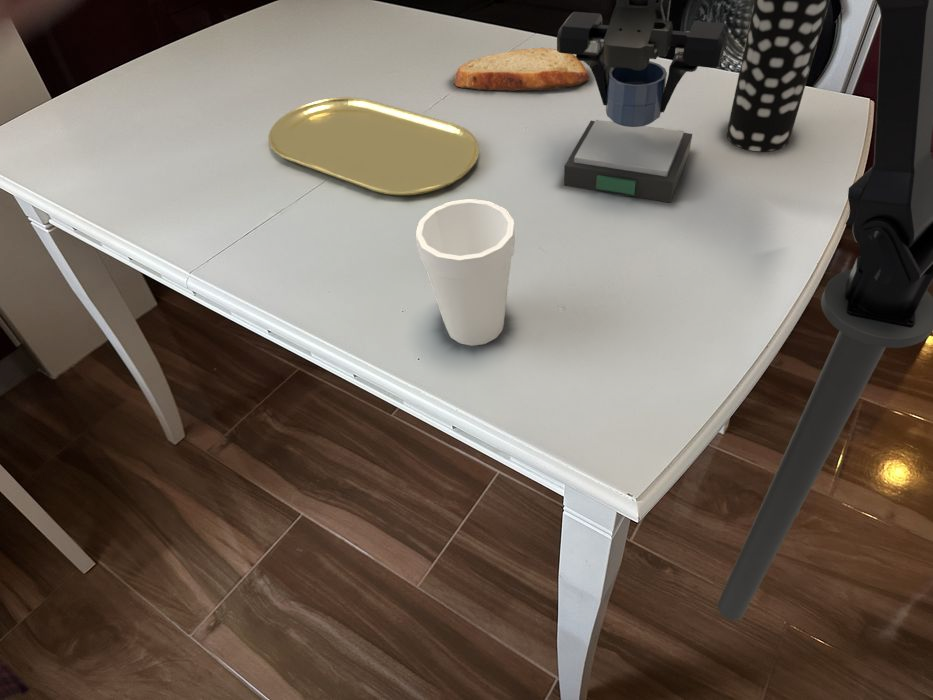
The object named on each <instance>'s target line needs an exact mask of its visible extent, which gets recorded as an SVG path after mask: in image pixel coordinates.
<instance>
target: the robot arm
mask: <svg viewBox="0 0 933 700" xmlns="http://www.w3.org/2000/svg"><path fill="white" fill-rule="evenodd" d="M875 1H876V4H877V6H878V8H879V12H880V20H879V21H880V22H879V41H878V42H879V43H878V64H877V82H876V83H877V84H876V85H877V87H876V104H875V125H874V126H875V127H874V146H873V148H874V149H873V162H872V163H873V164H872V166H871V167H870V168H869V169H868V170H867V171H866V172H865V173H863V174H862V176H860V177H859V178H858V179H856V180H855V182H853V183H852V184H851V185H850V186H849V187H848V190H847V199H848V200H847V201H848V207H849V213H848V218H847V219H846V221H845V226H852V227H851V231H852V236H853V238H854V241H855V243H857V244H859V256H858V257H856V259H855V261H854V264H853V265H852V268H851V270H852V271H851V273H850V276H849V278H848V280H847V283H846V289H845V298H846V299H847V300H848V304H847V314H848V315H851V316H855V317H860V318H865V319H870V320H875V321H880V322H885V323H889V324H894V325H899V326H904V327H910V328H911V327H913V326H914V324H915V311H916V309H917V307H918V306H919V304H920V302H921V300H922V298H923V296H924V295H925V293H926V291H928V289H929V288H930V286H931V284H932V282H933V158H932V153H931V146H932V135H933V0H875ZM615 3H616V4H615V6H614V9H613V12H612V14H611V17H610V21H609V24H608V25H607V24H603V16H602V14H601V13H596V12H586V11H585V12H584V11H583V12H582V11H573V12H572V13H570V15H569V16H568V17H567V18H566V19H565V21H564V22H563V24H562V25H561V26H560V27H559V29H558V31H557V36H556V49H557V51H558V52H559V53H565V54H573V55H575V56H576V58H577V60H579V61H581V62H583V63H585V64H586V65H587V66H588V67H589V68H590V71H591V72H592V74H593V77H594V79H595V82H596V86H597V89H598V91H599V95H600V99H601V102H602V104H603V106H606V99H607V83H608V72H609V70H610V69H611V68H616V67H623V68H631V69H633V70H643V69H645V68H646V67H647V66H648V64H649V61H651V60H657V58H658V57H662V58H666V57H667V56H668V54H669V51H670V50H674V56H673V58H672V61H671V63H670V65H669V67H668V73H667V78H666V85H665V90H664V94H663V98H662V102H661V112H662V113H664V112H665V111H666V108H667V106H668V104H669V103H670V100H671V97H672V96H673V94H674V91H675V90H676V88H677V86H678V84H679V83H680V81H681V79H682V78H683V77H684V76H685V74H686V73H692V72H696V71H697V69H698V67H700V68H709V69H712V68H718V67H719V66H720V63H721V60H722V57H723V55H724V53H725V50H726V47H727V42H728V38H729V32H730V31H729V30H730V29H729V28H728V26H727V24H726V23H725V22H714V21H713V22H712V21H703V20H702V21H701V20H694V21H693V23H692V25H691V27H690V29H689V30H687V31H683V30H674V28H673V22H672V21H671V20H670V19H669V18H670V10H671V9H670V8H671V3H672V0H616V2H615ZM852 311H853V312H852Z"/></svg>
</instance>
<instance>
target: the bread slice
mask: <svg viewBox="0 0 933 700" xmlns="http://www.w3.org/2000/svg"><path fill="white" fill-rule="evenodd" d="M453 79H454V80H453V83H454V85H455V86H456V87H458V88H460V89H461V88H462V89H465V88H466V89H467V88H468V89H471V90H473V89H474V90H478V91H481V90H482V91H483V90H485V91H511V92H513V91H524V92H525V91H536V92H537V91H541V90H549V91H552V90H554V89H561V88H562V89H563V88H571V87H576V86H579V85H582V84H583V83H586V82H589V81H590V75H589V74H588V71H587V69H586V67H585V65H584V64H583V62H582V61H579V60H577V58H576V55H575V54H565V53H559V52H558V51H557V48H547V47H539V48H538V47H537V48H536V47H535V48H521V49H520V48H519V49H513V50H510V51H507V52H500V53H494V54H490V55H484V56H481V57H478V58H476V59H472V60H470V61H468V62H465V63H464V64H462V65H460V66H459V67H458V68H457V71H456V73H455V75H454V78H453Z"/></svg>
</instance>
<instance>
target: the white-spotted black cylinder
mask: <svg viewBox="0 0 933 700" xmlns="http://www.w3.org/2000/svg"><path fill="white" fill-rule="evenodd" d="M830 1H831V0H754V1H753V6H752V11H751V16H750V21H749V24H748V25H749V26H748V30H747V35H746V38H745V39H746V40H745V44H744V49H743V54H742V58H741V63H740V66H739V67H740V68H739V73H738V77H737V81H736V87H735V91H734V96H733V101H732V106H731V110H730V115H729V120H728V125H727V128H726V129H727V130H726V138H727V139H728V140H729V142H730V143H732V144H733V145H735V146H736V147H738V148H741V149H744V150H747V151H753V152H773V151H776V150H779V149H782V148H784V147H785V146H787V145H788V143H789V142H790V141H791V138H792V133H793V131H794V126H795V123H796V119H797V116H798V112H799V110H800V106H801V102H802V99H803V95H804V92H805V88H806V86H807V81H808V78H809V74H810V71H811V67H812V64H813V62H814V61H813V60H814V57H815V53H816V50H817V46H818V43H819V41H820V36H821V33H822V30H823V25H824V23H825V20H826V16H827V12H828V8H829V5H830Z"/></svg>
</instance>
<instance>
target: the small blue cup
mask: <svg viewBox="0 0 933 700" xmlns="http://www.w3.org/2000/svg"><path fill="white" fill-rule="evenodd" d="M667 78H668V72H667V70H666V68H665V67H664V66H662V65H661V64H659V63H657V62H653V61H651V60H649V64H648V66H647V67H646V68H645V69H643V70H633V69H631V68H623V67H616V68H611V69H610V70H609V72H608V83H607V99H606V105H605V114H606V116H607V118H609V119H610V120H611V122H615V123H616V124H619V125H622V126H626V127H640V126H649V125H651V124H652V123H653V122H655V121H656V120H658V119H659V118H661V115H662V113H663V112H661V102H662V98H663V94H664V90H665V86H666V82H667Z"/></svg>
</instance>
